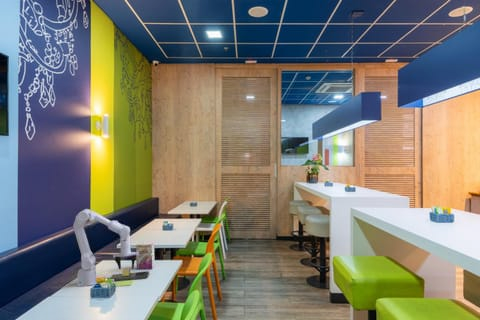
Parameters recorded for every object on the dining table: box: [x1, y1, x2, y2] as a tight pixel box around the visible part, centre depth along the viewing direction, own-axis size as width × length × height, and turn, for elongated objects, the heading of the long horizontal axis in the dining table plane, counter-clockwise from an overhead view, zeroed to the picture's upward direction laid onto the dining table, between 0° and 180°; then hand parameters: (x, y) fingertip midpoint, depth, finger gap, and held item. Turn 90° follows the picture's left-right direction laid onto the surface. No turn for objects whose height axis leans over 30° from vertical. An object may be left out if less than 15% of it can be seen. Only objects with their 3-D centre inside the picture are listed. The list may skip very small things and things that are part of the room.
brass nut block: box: [121, 267, 132, 277], centre depth 185 cm, size 4×4×6 cm
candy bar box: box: [135, 242, 156, 270], centre depth 203 cm, size 11×5×16 cm, turn 84°
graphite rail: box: [109, 270, 150, 282], centre depth 186 cm, size 22×7×2 cm, turn 99°
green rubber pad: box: [115, 280, 134, 288], centre depth 177 cm, size 10×7×1 cm
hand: (126, 268), depth 185 cm, fingers open, 7 cm apart
